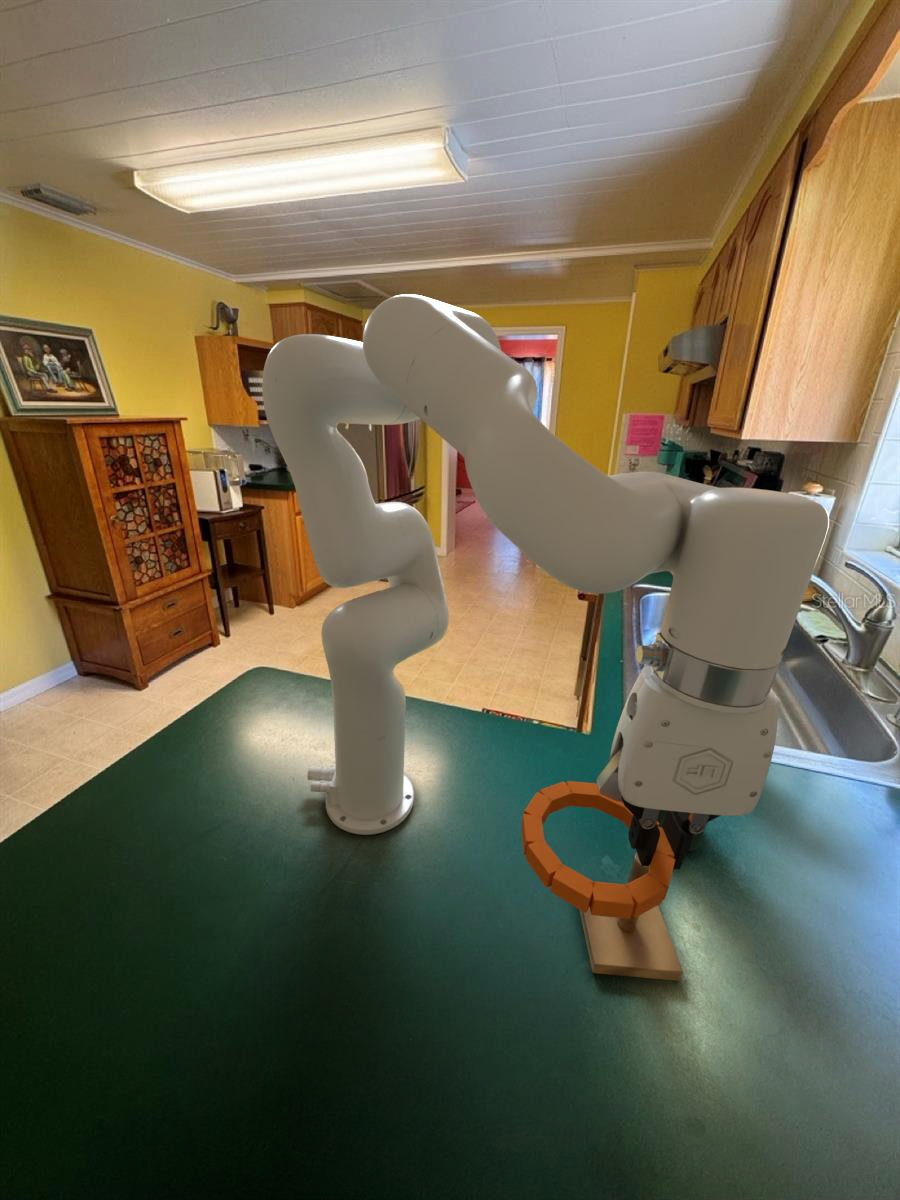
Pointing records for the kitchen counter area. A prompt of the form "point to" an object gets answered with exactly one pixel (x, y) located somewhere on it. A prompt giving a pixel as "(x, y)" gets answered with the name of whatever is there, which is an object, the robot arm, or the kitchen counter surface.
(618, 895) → the orange segmented ring
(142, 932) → the kitchen counter surface
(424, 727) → the kitchen counter surface
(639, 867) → the stand
